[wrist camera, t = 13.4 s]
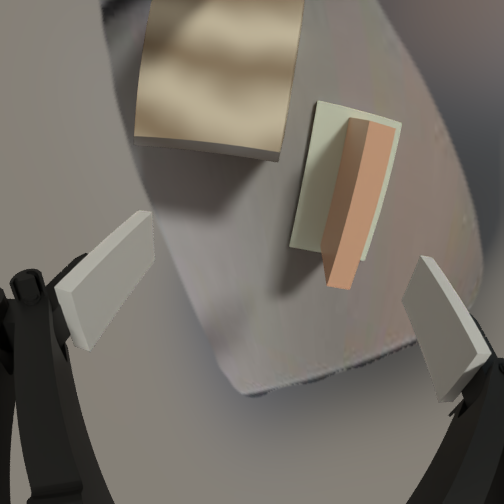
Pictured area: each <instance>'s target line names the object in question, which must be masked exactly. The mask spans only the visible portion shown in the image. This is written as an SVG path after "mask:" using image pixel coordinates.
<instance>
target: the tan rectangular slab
mask: <svg viewBox="0 0 504 504" xmlns="http://www.w3.org/2000/svg"><path fill="white" fill-rule="evenodd" d="M395 130H396V128H393V127H389V126H386V125H383V124H379V123H376V122H373V121H369V120H363V119H358V118H352V117H349V122H348V128H347V133H346V138H345V143H344V147H343V152H342V157H341V162H340V166H339V171H338V175H337V180H336V184H335V188H334V193H333V197H332V201H331V205H330V209H329V213H328V218H327V222H326V225H325V229H324V233H323V237H322V241H321V245H320V247H321V253H322V259H323V265H324V271H325V278H326V284H327V286H330V287H336V288H342V289H348V290H350V287H351V284H352V281H353V279H354V276H355V273H356V270H357V267H358V264H359V261H360V258H361V255H362V252H363V249H364V246H365V243H366V240H367V237H368V234H369V231H370V227H371V224H372V221H373V217H374V214H375V210H376V207H377V203H378V200H379V196H380V193H381V189H382V185H383V181H384V178H385V174H386V170H387V166H388V161H389V157H390V153H391V149H392V144H393V140H394V135H395Z"/></svg>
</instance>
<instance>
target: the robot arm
mask: <svg viewBox="0 0 504 504" xmlns="http://www.w3.org/2000/svg"><path fill="white" fill-rule="evenodd" d="M154 261H155V256H154V238H153V212H149V211H142V210H138V211H137V212H136V213H134V214H133V215H132V216H131V217H130V218H129V219H127V220H126V221H125V222H124V223H123V224H122V225H120V226H119V227H118V228H117V229H116V230H115V231H113V232H112V233H111V234H110V235H109V236H108V237H107V238H105V239H104V240H103V241H102V242H101V243H100V244H99V245H98V246H97V247H96V248H94V249H93V250H92V251H91V252H90V253H89V254H87V253H85V254H83V255H81V256H79V257H77V258H75V259H74V260H73V261H72V262H71V263H70V264H69V265H68V267H67V266H66V267H65V268H64V269H63V270H62V272H60V273H59V274H58V275H57V276H56V277H55V278H54V279H53V280H52V281H51V282H50V283H49V284H48V285H47V286H46V287H45V284H44V280H43V277H42V273H41V272H40V271H39V270H37V269H26V270H23V271H21V272H19V273H17V274H16V275H15V276H14V277H13V278H12V279H11V281H10V286H11V289H12V292H13V295H14V297H15V299H6V296H5V294H4V291H3V289H1V288H0V504H11V503H10V448H11V435H12V424H13V415H14V407H15V401H16V409H17V417H18V426H19V433H20V440H21V446H22V452H23V457H24V462H25V466H26V471H27V474H28V479H29V483H30V487H31V492H32V493H31V497H30V498H29V499H28V500H27V504H115V503H114V501H113V499H112V497H111V495H110V493H109V490H108V488H107V485H106V483H105V480H104V478H103V475H102V473H101V470H100V468H99V465H98V462H97V460H96V457H95V454H94V451H93V449H92V445H91V442H90V439H89V436H88V433H87V430H86V426H85V423H84V419H83V416H82V412H81V408H80V404H79V400H78V396H77V392H76V388H75V383H74V379H73V374H72V369H71V364H70V358H69V353H68V347H67V345H66V343H65V342H66V340H67V339H68V338H69V336H71V338H72V341H73V344H74V346H75V347H79V348H81V349H83V350H86V351H89V352H90V351H91V350H92V349H93V347H94V346H95V344H96V343H97V341H98V340H99V338H100V336H101V335H102V334H103V332H104V331H105V329H106V328H107V326H108V325H109V324H110V322H111V320H112V319H113V318H114V316H115V315H116V314H117V312H118V311H119V309H120V308H121V306H122V305H123V304H124V302H125V301H126V299H127V298H128V297H129V295H130V294H131V292H132V291H133V290H134V288H135V287H136V286H137V284H138V283H139V282H140V280H141V279H142V277H143V276H144V275H145V273H146V272H147V271H148V269H149V268H150V267H151V265H152V264H153V263H154ZM402 303H403V305H404V307H405V310H406V312H407V314H408V317H409V319H410V322H411V324H412V327H413V329H414V332H415V335H416V337H417V340H418V343H419V345H420V348H421V351H422V353H423V356H424V359H425V362H426V365H427V368H428V370H429V374H430V377H431V380H432V383H433V386H434V389H435V392H436V395H437V399H438V402H439V403H442V402H453V401H454V400H455V399H456V397H457V396H458V395H459V394H460V393H461V392H462V395H463V397H464V399H463V400H462V401H461V402H460V403H459V404H458V405H457V406H456V407H455V409H454V410H453V411H452V412H451V413H450V414H449V416H451V415H452V414H453V413H455V415H454V417H453V419H452V422H451V424H450V426H449V428H448V431H447V433H446V435H445V437H444V439H443V441H442V443H441V445H440V447H439V449H438V451H437V453H436V455H435V456H434V458H433V460H432V462H431V464H430V466H429V467H428V469H427V471H426V473H425V474H424V476H423V478H422V480H421V481H420V483H419V484H418V486H417V488H416V489H415V491H414V492H413V494H412V495H411V497H410V498H409V500H408V501H407V503H406V504H504V358H497V356H496V354H495V352H494V350H493V348H492V346H491V344H490V343H489V341H488V339H487V337H485V334H484V332H483V330H481V329H482V328H481V327H480V325H479V323H478V322H477V320H476V319H475V318H474V317H473V316H472V315H471V314H470V313H469V312H468V311H467V309H466V307H465V306H464V304H463V302H462V301H461V299H460V298H459V296H458V295H457V293H456V291H455V290H454V288H453V287H452V285H451V284H450V282H449V281H448V279H447V278H446V276H445V275H444V273H443V272H442V270H441V269H440V268H439V266H438V265H437V263H436V262H435V260H434V259H433V258H432V257H427V256H421V255H420V257H419V260H418V263H417V265H416V268H415V270H414V272H413V275H412V277H411V280H410V282H409V284H408V287H407V289H406V291H405V293H404V296H403V298H402Z"/></svg>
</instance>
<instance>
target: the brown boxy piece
mask: <svg viewBox="0 0 504 504" xmlns="http://www.w3.org/2000/svg"><path fill="white" fill-rule="evenodd" d="M304 1H305V0H152V2H151V7H150V12H149V17H148V22H147V27H146V33H145V39H144V45H143V52H142V59H141V66H140V74H139V82H138V92H137V102H136V114H135V129H134V145H138V146H152V147H164V148H175V149H185V150H194V151H203V152H211V153H219V154H227V155H234V156H241V157H247V158H254V159H260V160H266V161H272V162H278V161H279V156H280V150H281V146H282V142H283V139H284V133H285V127H286V121H287V115H288V109H289V103H290V97H291V90H292V84H293V78H294V72H295V65H296V59H297V53H298V46H299V40H300V33H301V27H302V19H303V10H304Z"/></svg>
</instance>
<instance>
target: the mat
mask: <svg viewBox="0 0 504 504" xmlns="http://www.w3.org/2000/svg"><path fill="white" fill-rule="evenodd" d="M349 117H352V118H358V119H363V120H369V121H373V122H376V123H379V124H383V125H386V126H389V127H393V128H396V130H395V135H394V140H393V144H392V149H391V153H390V157H389V161H388V166H387V170H386V174H385V178H384V181H383V185H382V189H381V193H380V196H379V200H378V203H377V207H376V210H375V214H374V217H373V221H372V224H371V227H370V231H369V234H368V237H367V240H366V243H365V246H364V249H363V252H362V255H361V258H360V260H362V261H365V258H366V255H367V252H368V249H369V246H370V243H371V240H372V237H373V234H374V231H375V227H376V224H377V221H378V218H379V214H380V211H381V207H382V204H383V200H384V197H385V193H386V189H387V186H388V182H389V178H390V174H391V170H392V166H393V162H394V158H395V154H396V149H397V145H398V141H399V136H400V131H401V126H402V123H400V122H397V121H394V120H391V119H388V118H384V117H381V116H378V115H374V114H371V113H367V112H363V111H360V110H356V109H352V108H348V107H344V106H340V105H336V104H331V103H327V102H322V101H317V105H316V111H315V117H314V123H313V128H312V134H311V139H310V145H309V150H308V155H307V161H306V166H305V171H304V176H303V181H302V186H301V191H300V196H299V201H298V206H297V211H296V216H295V221H294V225H293V230H292V235H291V239H290V244H289V247H293V248H298V249H303V250H309V251H314V252H320V253H321V247H320V245H321V241H322V237H323V233H324V229H325V225H326V222H327V218H328V213H329V209H330V205H331V201H332V197H333V193H334V188H335V184H336V180H337V175H338V171H339V166H340V162H341V157H342V152H343V147H344V143H345V138H346V133H347V128H348V122H349Z"/></svg>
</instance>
